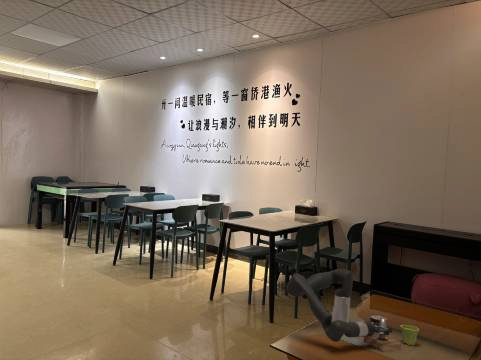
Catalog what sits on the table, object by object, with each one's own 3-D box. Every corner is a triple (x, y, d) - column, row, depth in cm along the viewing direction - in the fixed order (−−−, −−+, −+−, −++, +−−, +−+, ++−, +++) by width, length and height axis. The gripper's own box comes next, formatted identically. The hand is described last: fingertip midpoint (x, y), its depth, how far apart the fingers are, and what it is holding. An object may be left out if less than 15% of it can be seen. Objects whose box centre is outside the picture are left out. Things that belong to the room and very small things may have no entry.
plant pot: (415, 348, 200) (416, 331, 201) (397, 342, 206) (398, 326, 207) (420, 344, 207) (421, 328, 208) (403, 339, 213) (403, 323, 214)
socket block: (363, 342, 202) (363, 335, 202) (380, 340, 207) (380, 334, 207) (383, 352, 189) (383, 345, 190) (400, 350, 194) (401, 343, 195)
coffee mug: (387, 339, 210) (388, 321, 211) (370, 337, 212) (372, 318, 213) (383, 333, 222) (384, 315, 222) (368, 330, 223) (369, 313, 224)
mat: (337, 337, 206) (337, 336, 206) (351, 336, 210) (351, 335, 210) (355, 346, 193) (355, 346, 193) (370, 345, 198) (370, 344, 198)
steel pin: (377, 345, 199) (378, 318, 200) (381, 344, 200) (383, 317, 202) (381, 347, 196) (383, 319, 197) (386, 347, 198) (387, 319, 199)
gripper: (351, 331, 199) (375, 330, 206) (371, 341, 186) (395, 339, 193) (352, 317, 200) (375, 316, 207) (372, 326, 187) (396, 324, 194)
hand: (385, 327), depth 200 cm, fingers open, 8 cm apart
